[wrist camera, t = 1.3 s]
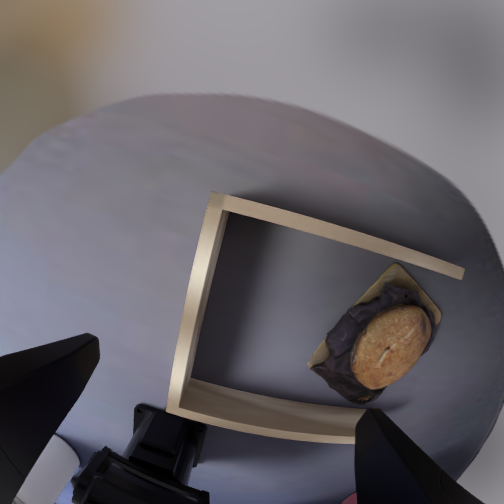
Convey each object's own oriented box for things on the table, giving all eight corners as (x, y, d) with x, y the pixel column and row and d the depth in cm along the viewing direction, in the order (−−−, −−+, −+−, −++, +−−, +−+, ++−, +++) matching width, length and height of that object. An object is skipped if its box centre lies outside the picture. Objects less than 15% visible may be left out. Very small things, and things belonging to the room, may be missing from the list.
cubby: (369, 416, 21) (384, 443, 17) (179, 382, 20) (165, 411, 16) (434, 259, 19) (465, 268, 15) (221, 196, 19) (211, 191, 15)
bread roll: (388, 253, 20) (412, 259, 16) (443, 317, 20) (467, 330, 16) (293, 357, 21) (300, 382, 17) (360, 406, 21) (373, 431, 17)
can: (80, 448, 22) (36, 511, 10) (81, 472, 23) (46, 528, 11) (39, 420, 22) (-12, 473, 10) (43, 447, 23) (3, 496, 11)
